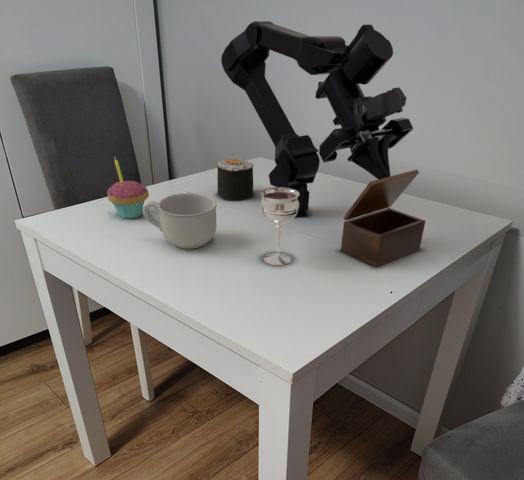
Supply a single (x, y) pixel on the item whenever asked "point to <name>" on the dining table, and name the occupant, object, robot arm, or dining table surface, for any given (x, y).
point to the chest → (382, 236)
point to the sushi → (235, 179)
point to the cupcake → (127, 196)
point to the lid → (380, 194)
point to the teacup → (185, 218)
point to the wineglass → (279, 215)
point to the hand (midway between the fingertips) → (387, 181)
